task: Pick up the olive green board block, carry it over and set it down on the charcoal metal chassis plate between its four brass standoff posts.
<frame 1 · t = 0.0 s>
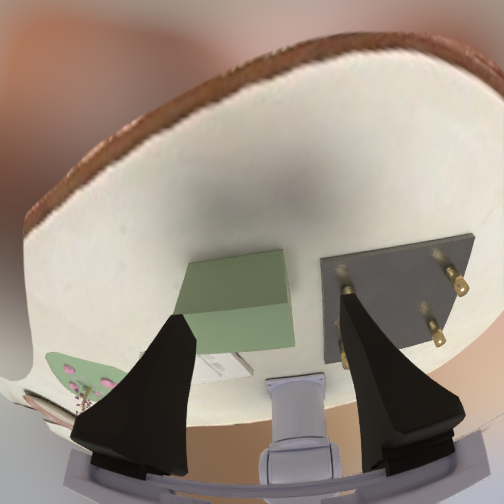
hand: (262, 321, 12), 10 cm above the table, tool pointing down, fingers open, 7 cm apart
external hard drive: (196, 358, 34), on the table
chassis: (395, 306, 26), on the table
dinner plate: (58, 410, 63), on the table
board block: (241, 278, 24), on the table
plant: (99, 379, 41), on the table
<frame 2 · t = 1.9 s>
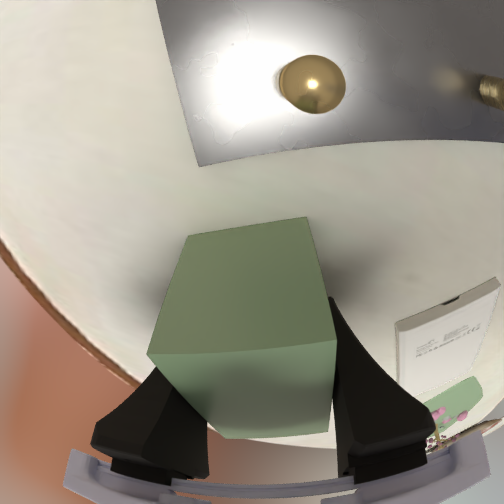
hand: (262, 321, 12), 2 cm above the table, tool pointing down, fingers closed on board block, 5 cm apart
external hard drive: (439, 340, 18), on the table
dinner plate: (462, 433, 50), on the table
board block: (262, 295, 14), on the table, touching gripper
plant: (433, 412, 30), on the table
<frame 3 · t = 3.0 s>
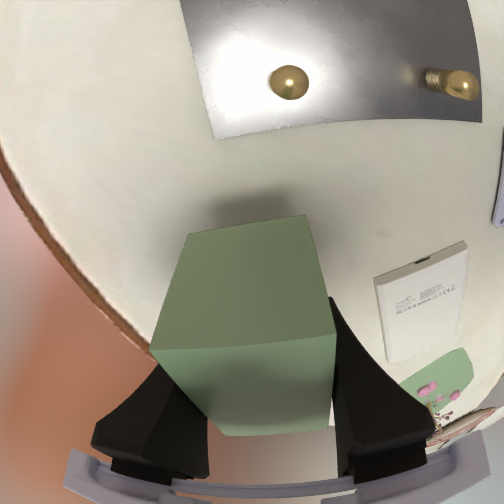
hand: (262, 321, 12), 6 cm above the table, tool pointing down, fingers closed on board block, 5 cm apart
external hard drive: (419, 303, 21), on the table
dinner plate: (459, 422, 54), on the table
board block: (262, 293, 14), point 4 cm above the table, touching gripper
plant: (425, 389, 33), on the table
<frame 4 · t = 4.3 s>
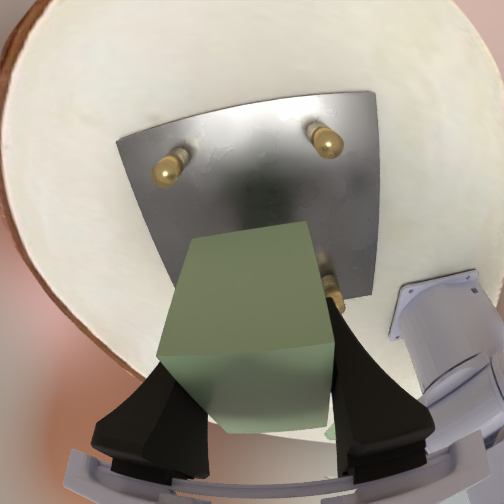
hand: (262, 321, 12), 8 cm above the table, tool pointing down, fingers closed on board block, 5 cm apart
chassis: (263, 222, 19), on the table
board block: (263, 295, 14), point 6 cm above the table, touching gripper
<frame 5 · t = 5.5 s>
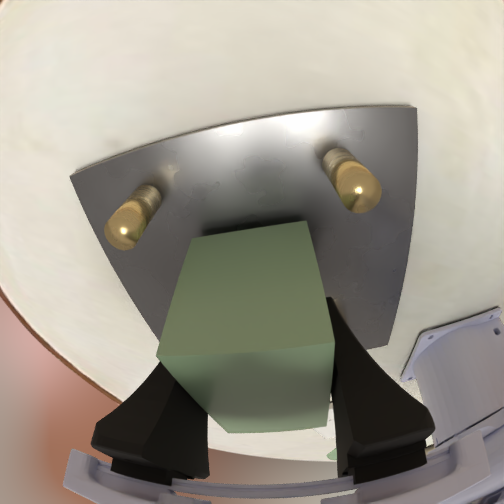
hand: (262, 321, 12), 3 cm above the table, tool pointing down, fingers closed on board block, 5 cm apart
external hard drive: (343, 410, 29), on the table
chassis: (262, 275, 15), on the table
board block: (263, 295, 14), point 1 cm above the table, touching gripper
when the fingers open (3 cm above the table, at t = 6.5 s): board block stays where it is, resting on chassis.
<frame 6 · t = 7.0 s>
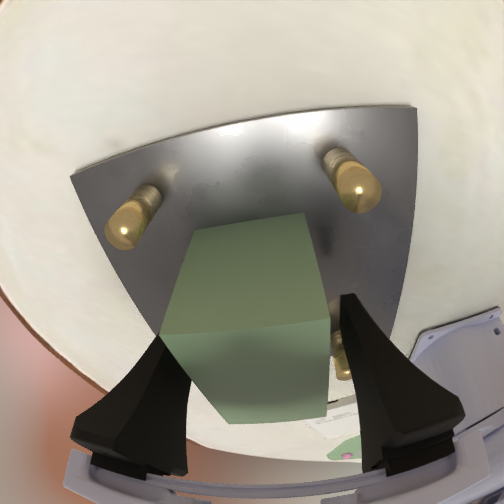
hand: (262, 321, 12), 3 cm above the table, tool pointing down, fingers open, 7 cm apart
external hard drive: (342, 411, 29), on the table
chassis: (262, 275, 15), on the table
board block: (263, 287, 15), point 1 cm above the table, touching chassis
plant: (373, 440, 40), on the table
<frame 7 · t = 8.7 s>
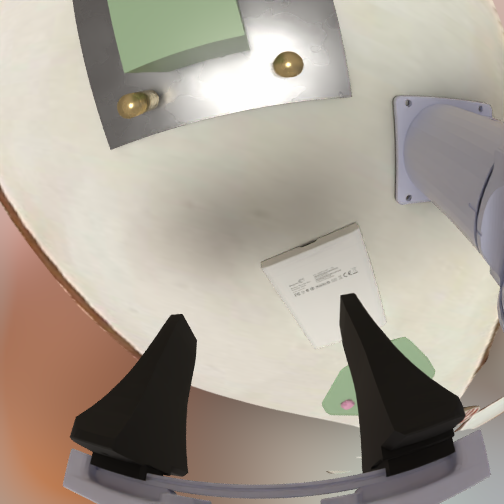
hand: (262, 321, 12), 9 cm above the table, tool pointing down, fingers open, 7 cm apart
external hard drive: (331, 288, 25), on the table
chassis: (195, 3, 11), on the table
dinner plate: (439, 420, 57), on the table
board block: (193, 5, 11), point 1 cm above the table, touching chassis
plant: (379, 381, 36), on the table
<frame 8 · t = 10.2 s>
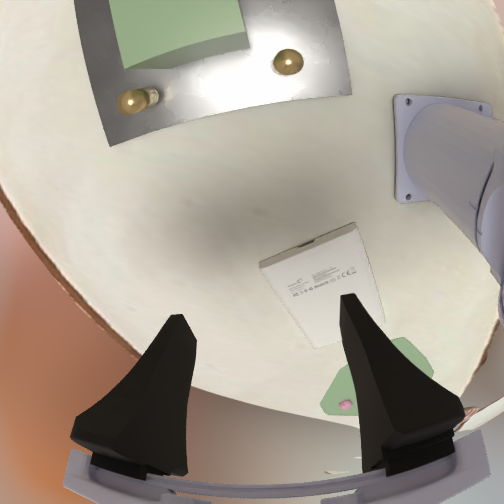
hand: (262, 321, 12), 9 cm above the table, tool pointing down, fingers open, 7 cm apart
external hard drive: (330, 288, 25), on the table
chassis: (195, 1, 11), on the table
dinner plate: (437, 421, 57), on the table
board block: (194, 2, 11), point 1 cm above the table, touching chassis
plant: (378, 381, 36), on the table
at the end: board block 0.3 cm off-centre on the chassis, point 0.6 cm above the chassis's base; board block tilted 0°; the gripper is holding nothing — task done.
